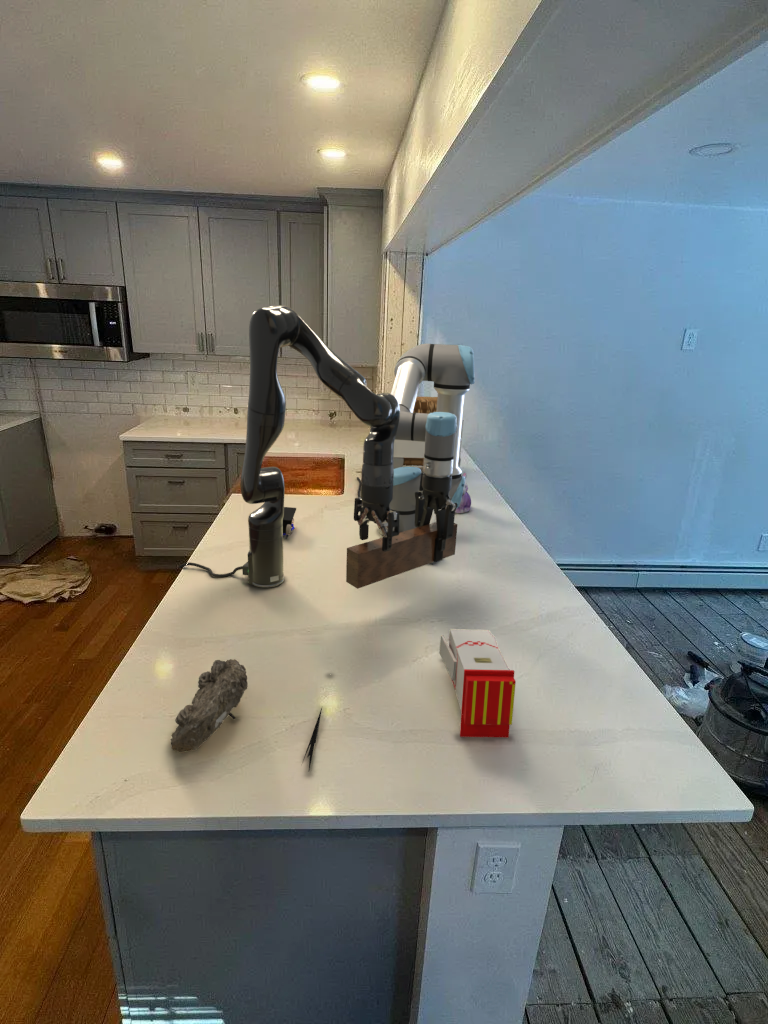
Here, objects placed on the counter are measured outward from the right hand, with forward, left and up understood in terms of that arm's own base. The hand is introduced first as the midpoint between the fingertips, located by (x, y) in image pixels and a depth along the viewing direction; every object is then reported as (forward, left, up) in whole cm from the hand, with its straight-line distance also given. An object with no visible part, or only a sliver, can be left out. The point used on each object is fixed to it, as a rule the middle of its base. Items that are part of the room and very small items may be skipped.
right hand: (431, 556), depth 153 cm
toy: (+35, -22, -12) cm, 43 cm away
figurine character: (-62, -8, -12) cm, 64 cm away
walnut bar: (0, -10, 0) cm, 10 cm away
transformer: (-92, +85, -12) cm, 126 cm away
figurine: (-44, +62, -12) cm, 77 cm away
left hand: (0, -20, +9) cm, 22 cm away
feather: (+23, -52, -12) cm, 58 cm away
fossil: (+10, -67, -12) cm, 69 cm away
